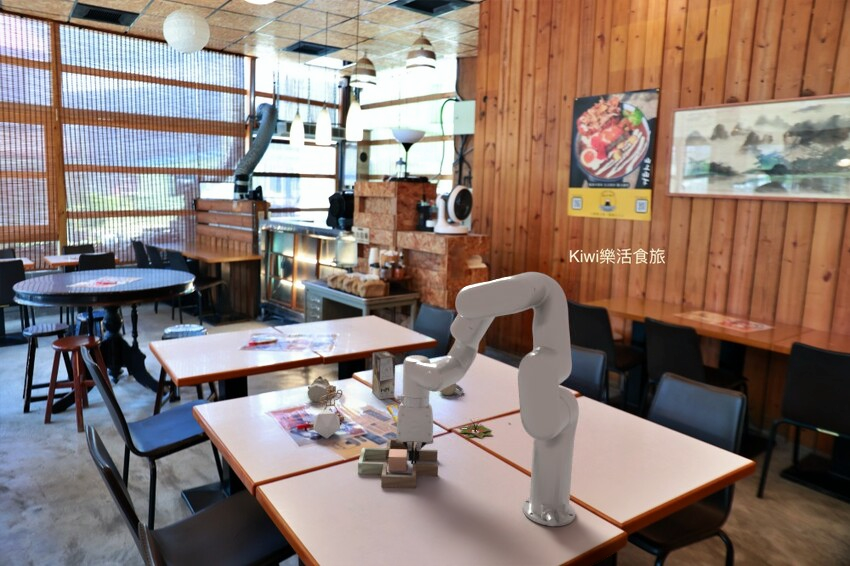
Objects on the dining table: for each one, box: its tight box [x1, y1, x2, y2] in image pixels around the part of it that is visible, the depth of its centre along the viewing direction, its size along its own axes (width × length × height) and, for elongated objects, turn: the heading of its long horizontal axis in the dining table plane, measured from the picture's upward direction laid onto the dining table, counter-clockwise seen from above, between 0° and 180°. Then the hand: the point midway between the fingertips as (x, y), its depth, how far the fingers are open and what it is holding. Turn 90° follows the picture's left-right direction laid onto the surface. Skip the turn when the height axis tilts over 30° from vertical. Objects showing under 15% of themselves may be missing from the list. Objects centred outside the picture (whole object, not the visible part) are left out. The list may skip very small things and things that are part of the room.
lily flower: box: [459, 418, 494, 440], centre depth 189 cm, size 12×12×5 cm
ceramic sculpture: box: [307, 376, 337, 403], centre depth 216 cm, size 11×9×15 cm
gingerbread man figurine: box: [318, 384, 345, 421], centre depth 195 cm, size 9×4×12 cm, turn 112°
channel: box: [357, 438, 439, 489], centre depth 163 cm, size 24×22×3 cm
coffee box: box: [371, 350, 396, 400], centre depth 220 cm, size 9×6×16 cm
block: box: [387, 449, 408, 472], centre depth 163 cm, size 5×5×4 cm
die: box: [312, 408, 341, 439], centre depth 182 cm, size 8×9×10 cm
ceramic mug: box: [439, 383, 465, 396], centre depth 226 cm, size 10×8×7 cm
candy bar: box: [385, 404, 399, 424], centre depth 201 cm, size 17×4×2 cm, turn 16°
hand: (413, 462), depth 163 cm, fingers closed
